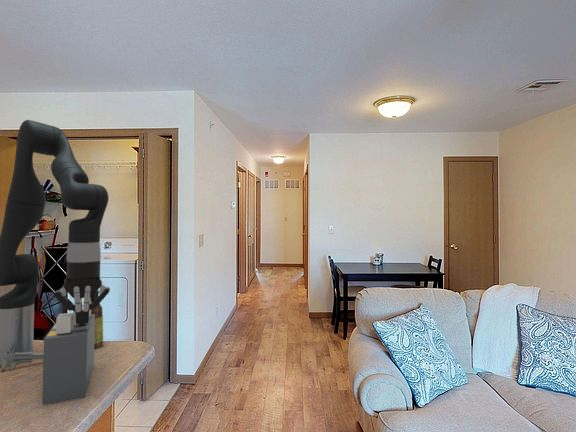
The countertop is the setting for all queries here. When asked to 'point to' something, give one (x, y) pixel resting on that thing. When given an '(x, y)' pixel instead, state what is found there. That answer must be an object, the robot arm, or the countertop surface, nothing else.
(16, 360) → the caliper
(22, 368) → the countertop surface
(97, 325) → the sauce bottle
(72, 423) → the countertop surface
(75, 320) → the tab middle
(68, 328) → the tab front
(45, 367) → the switch box
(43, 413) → the countertop surface
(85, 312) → the robot arm
